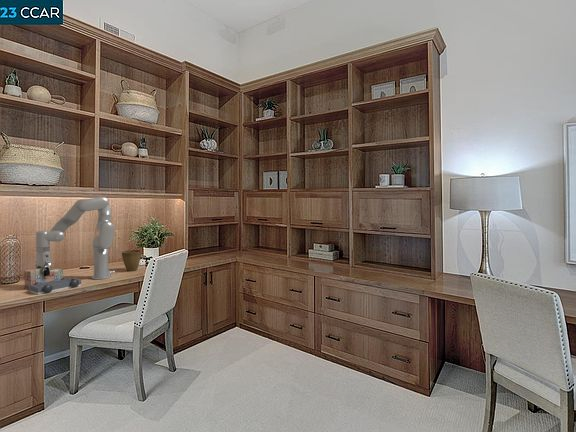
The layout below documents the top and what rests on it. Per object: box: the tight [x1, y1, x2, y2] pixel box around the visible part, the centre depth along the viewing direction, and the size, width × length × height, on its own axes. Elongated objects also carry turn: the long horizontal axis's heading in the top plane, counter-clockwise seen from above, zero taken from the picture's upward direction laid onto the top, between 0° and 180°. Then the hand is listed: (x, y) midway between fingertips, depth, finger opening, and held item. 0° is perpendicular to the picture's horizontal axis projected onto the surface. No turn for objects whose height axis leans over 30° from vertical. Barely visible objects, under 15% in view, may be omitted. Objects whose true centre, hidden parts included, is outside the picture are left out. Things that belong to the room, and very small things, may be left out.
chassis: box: [29, 276, 82, 295], centre depth 220 cm, size 26×13×5 cm, turn 150°
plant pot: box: [121, 249, 142, 272], centre depth 278 cm, size 15×15×16 cm
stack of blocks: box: [23, 267, 64, 291], centre depth 228 cm, size 21×6×12 cm, turn 159°
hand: (43, 275), depth 227 cm, fingers open, 9 cm apart
